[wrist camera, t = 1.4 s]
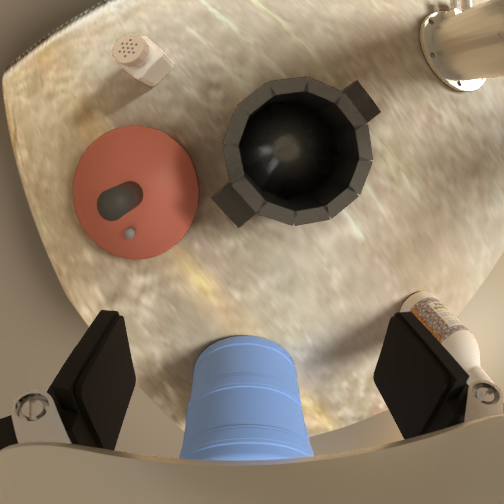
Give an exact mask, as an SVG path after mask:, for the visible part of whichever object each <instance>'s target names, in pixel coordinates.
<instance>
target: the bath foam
mask: <svg viewBox="0 0 504 504" xmlns="http://www.w3.org/2000/svg"><path fill="white" fill-rule="evenodd" d="M400 312H412V313H413V314H414V315H415V316H416V317H417V318H418V319H419V320H420V321H421V322H422V323H423V325H424V326H425V327H426V328H427V329H428V330H429V331H430V332H431V333H432V334H433V335H434V336H435V338H436V339H437V340H438V341H439V342H440V343H441V344H442V345H443V346H444V347H445V349H446V350H447V351H448V352H449V353H450V354H451V355H452V356H453V358H454V359H455V360H456V361H457V362H458V363H459V364H460V366H461V367H462V368H463V369H464V370H465V371H466V373H467V374H468V375H469V378H468V380H467V382H466V383H467V384H468V385H470V384H471V383H472V382H473V381H475V380H487V381H489V382H492V383H493V381H492V380H491V379H490V378H489V377H488V376H487V374H486V373H485V372H484V371H483V369H482V368H481V367H480V353H479V347H478V344H477V341H476V339H475V338H474V336H473V335H472V333H471V332H470V331H469V330H468V329H467V328H466V327H465V326H464V325H463V324H462V323H461V322H460V321H459V320H458V319H457V318H456V317H455V316H454V315H453V314H452V313H451V312H450V311H449V310H448V309H447V308H446V307H445V306H444V305H443V304H442V303H441V302H440V301H439V300H438V299H437V298H436V297H434V296H433V295H432V294H431V293H429V292H426V291H420V292H417V293H415V294H413V295H411V296H410V297H409V298H408V299H407V300H406V301H405V302H404V303H403V305H402V307H401V309H400ZM493 384H494V383H493Z"/></svg>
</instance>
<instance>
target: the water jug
mask: <svg viewBox="0 0 504 504" xmlns="http://www.w3.org/2000/svg"><path fill="white" fill-rule="evenodd" d="M309 456H314V454H313V450H312V447H311V445H310V440H309V435H308V432H307V429H306V426H305V422H304V418H303V413H302V406H301V401H300V392H299V387H298V383H297V373H296V368H295V364H294V362H293V360H292V358H291V356H290V355H289V354H288V352H287V351H286V350H285V349H283V348H282V347H281V346H280V345H278V344H276V343H274V342H272V341H270V340H268V339H265V338H261V337H256V336H234V337H229V338H225V339H222V340H220V341H217V342H215V343H214V344H212V345H210V346H209V347H208V348H206V349H205V350H204V351H203V352H202V353H201V355H200V356H199V357H198V359H197V361H196V364H195V367H194V372H193V384H192V390H191V396H190V400H189V403H188V407H187V413H186V427H185V433H184V440H183V446H182V449H181V453H180V458H181V459H196V460H272V459H287V458H299V457H309Z"/></svg>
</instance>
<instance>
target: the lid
mask: <svg viewBox="0 0 504 504" xmlns="http://www.w3.org/2000/svg"><path fill="white" fill-rule="evenodd" d="M198 198H199V185H198V179H197V175H196V171H195V168H194V166H193V164H192V161H191V159H190V158H189V156H188V154H187V153H186V151H185V150H184V149H183V148H182V147H181V145H180V144H178V143H177V142H176V141H175V140H174V139H173V138H171V137H170V136H169V135H167V134H165V133H163V132H161V131H159V130H156V129H153V128H149V127H144V126H125V127H120V128H117V129H114V130H111V131H109V132H107V133H105V134H104V135H102V136H100V137H99V138H98V139H97V140H95V141H94V142H93V143H92V144H91V145H90V146H89V147H88V149H87V150H86V152H85V153H84V154H83V156H82V158H81V160H80V162H79V164H78V167H77V169H76V173H75V177H74V183H73V199H74V206H75V210H76V213H77V216H78V219H79V221H80V223H81V225H82V227H83V228H84V230H85V231H86V233H87V234H88V235H89V237H90V238H91V239H92V240H93V241H94V242H95V243H96V244H97V245H99V246H100V247H101V248H103V249H104V250H106V251H108V252H109V253H112V254H114V255H116V256H119V257H123V258H128V259H146V258H151V257H154V256H157V255H160V254H162V253H164V252H166V251H167V250H169V249H171V248H172V247H173V246H174V245H176V244H177V243H178V242H179V241H180V240H181V239H182V237H183V236H184V235H185V233H186V232H187V231H188V229H189V227H190V225H191V223H192V221H193V219H194V216H195V214H196V210H197V206H198Z"/></svg>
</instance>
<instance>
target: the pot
mask: <svg viewBox="0 0 504 504" xmlns="http://www.w3.org/2000/svg"><path fill="white" fill-rule="evenodd" d="M380 112H381V111H380V110H379V108H378V107H377V106H376V104H375V103H374V102H373V100H372V99H371V97H370V96H369V95H368V94H367V92H366V91H365V90H364V88H363V87H362V86H361V84H360V83H359V82H358V81H357V80H356V81H354V82H353V83H351V84H350V85H349V86H347V87H346V88H344V89H343V90H342V91H340V90H338V89H336V88H333V87H331V86H329V85H326V84H324V83H322V82H319V81H317V80H314V79H312V78H310V77H308V78H307V79H306V77H299V78H290V79H282V80H275V81H269V82H268V84H267V83H265V84H264V85H262V86H261V87H260V88H258V89H257V90H256V91H255V92H253V93H252V94H251V95H250V96H248V97H247V98H246V99H245V100H243V101H242V102H241V103H240V104H239V105H237V108H235V110H234V113H233V116H232V119H231V121H230V124H229V127H228V130H227V133H226V135H225V138H224V141H223V144H226V145H225V146H223V151H224V156H225V161H226V165H227V170H228V175H229V180H230V181H229V182H228V183H227V184H226V185H225V186H223V187H222V188H221V189H220V190H219V191H218V192H217V193H215V194H214V195H213V196H212V199H213V201H214V202H215V203H216V204H217V205H218V206H219V207H220V208H221V209H222V210H223V211H224V212H225V214H226V215H227V216H228V217H229V218H230V219H231V220H232V221H233V222H234V223H235V224H236V226H237V227H238V228H239V227H240V226H242V225H243V224H244V223H245V222H246V221H248V220H249V219H250V218H251V217H252V216H253V215H255V214H256V213H257V212H258V214H259V215H262V216H265V217H268V218H271V219H274V220H277V221H280V222H283V223H286V224H289V225H292V226H293V224H294V225H295V226H297V225H303V224H308V223H314V222H319V221H325V220H330V218H329V216H330V217H331V218H333V217H334V216H336V215H337V214H338V213H339V212H341V211H342V210H343V209H344V208H345V207H347V206H348V205H349V204H350V203H351V202H353V201H354V200H355V199H356V198H357V197H359V196H358V195H357V193H358V194H360V193H361V191H362V188H363V186H364V183H365V181H366V178H367V176H368V173H369V170H370V168H371V165H372V162H371V161H369V160H373V157H372V149H371V142H370V135H369V128H368V125H365V124H366V123H367V122H369V121H370V120H371V119H372V118H374V117H375V116H376V115H378V114H379V113H380Z"/></svg>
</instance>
